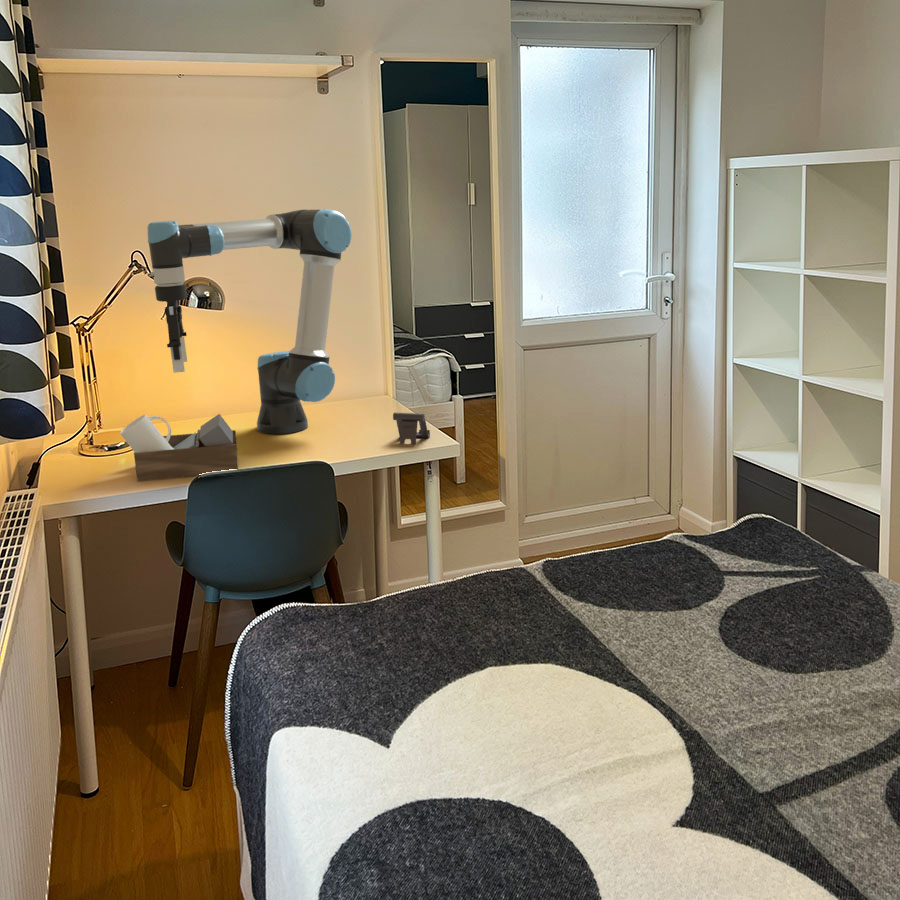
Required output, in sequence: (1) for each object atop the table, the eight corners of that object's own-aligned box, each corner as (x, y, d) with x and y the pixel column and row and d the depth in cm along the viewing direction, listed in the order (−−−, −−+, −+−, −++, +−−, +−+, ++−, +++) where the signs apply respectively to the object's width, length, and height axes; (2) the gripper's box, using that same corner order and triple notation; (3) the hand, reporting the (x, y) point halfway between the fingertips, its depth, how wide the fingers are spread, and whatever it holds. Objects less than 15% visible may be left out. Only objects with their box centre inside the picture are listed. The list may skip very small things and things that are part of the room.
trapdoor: (232, 431, 265) (219, 413, 263) (232, 443, 253) (218, 425, 251) (164, 477, 264) (150, 460, 262) (161, 492, 252) (146, 474, 250)
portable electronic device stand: (430, 437, 282) (429, 408, 280) (423, 444, 275) (421, 415, 272) (401, 436, 284) (400, 407, 282) (392, 443, 277) (391, 414, 275)
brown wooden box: (142, 464, 264) (138, 434, 261) (237, 456, 268) (235, 426, 266) (137, 481, 249) (133, 449, 247) (238, 472, 254) (235, 441, 251)
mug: (179, 442, 264) (150, 406, 260) (189, 442, 256) (160, 405, 252) (144, 470, 258) (115, 434, 254) (153, 470, 251) (123, 433, 247)
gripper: (158, 279, 260) (168, 359, 266) (150, 291, 236) (162, 377, 242) (187, 277, 261) (197, 356, 267) (182, 289, 237) (193, 375, 244)
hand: (180, 366), depth 255 cm, fingers open, 13 cm apart
